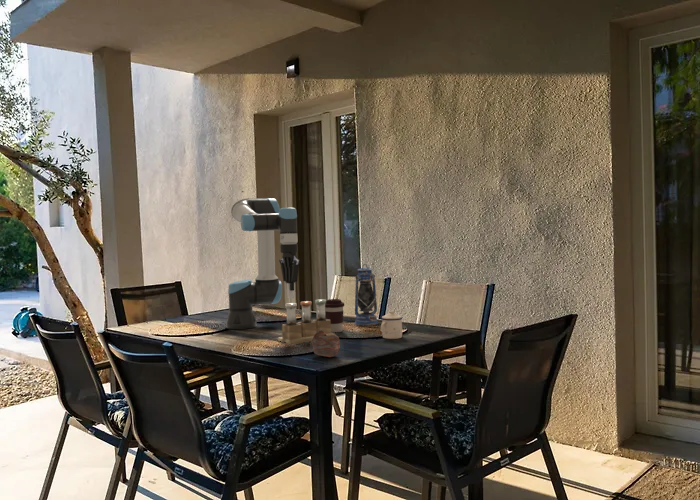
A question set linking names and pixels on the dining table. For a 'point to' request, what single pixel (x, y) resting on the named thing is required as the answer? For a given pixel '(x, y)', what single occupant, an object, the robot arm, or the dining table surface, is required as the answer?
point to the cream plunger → (291, 313)
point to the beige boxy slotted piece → (304, 331)
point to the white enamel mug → (391, 326)
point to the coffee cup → (334, 314)
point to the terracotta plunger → (306, 311)
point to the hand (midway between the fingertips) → (290, 297)
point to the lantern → (365, 297)
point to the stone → (325, 344)
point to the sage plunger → (320, 309)
